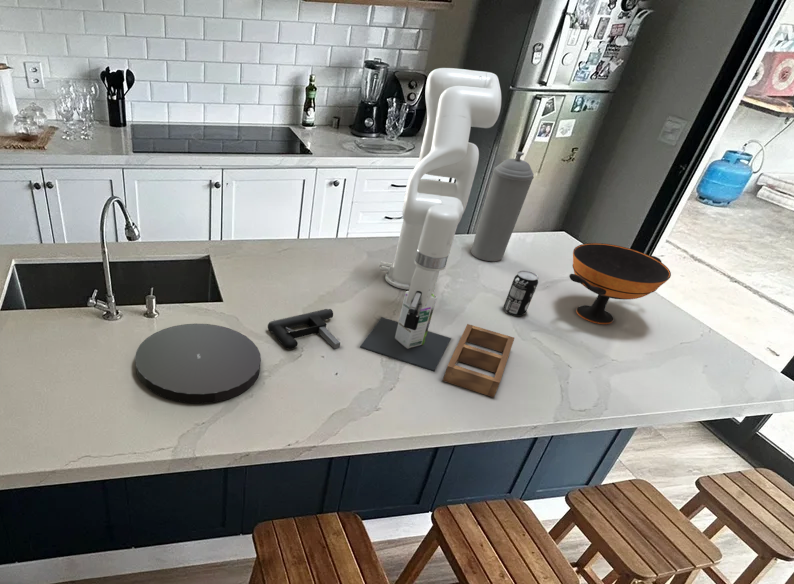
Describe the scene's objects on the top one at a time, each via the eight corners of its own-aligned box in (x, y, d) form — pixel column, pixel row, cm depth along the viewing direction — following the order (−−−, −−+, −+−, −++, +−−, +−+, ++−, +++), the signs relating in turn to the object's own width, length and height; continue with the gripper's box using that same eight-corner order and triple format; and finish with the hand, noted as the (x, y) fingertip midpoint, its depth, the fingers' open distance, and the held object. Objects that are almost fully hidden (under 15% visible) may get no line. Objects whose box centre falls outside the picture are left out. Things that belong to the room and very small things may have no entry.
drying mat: (359, 347, 151) (360, 346, 150) (381, 318, 163) (381, 316, 163) (434, 371, 144) (434, 370, 144) (450, 339, 157) (451, 338, 157)
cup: (591, 349, 157) (620, 292, 146) (520, 306, 174) (542, 252, 163) (669, 324, 172) (701, 271, 161) (596, 287, 189) (621, 236, 178)
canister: (510, 256, 203) (547, 154, 182) (494, 266, 196) (531, 160, 174) (477, 245, 210) (510, 144, 188) (461, 254, 202) (492, 150, 181)
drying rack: (442, 380, 141) (447, 365, 138) (462, 337, 158) (467, 323, 155) (493, 397, 137) (499, 382, 134) (509, 351, 154) (514, 337, 151)
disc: (123, 343, 145) (122, 333, 143) (233, 325, 155) (234, 315, 153) (154, 416, 124) (153, 405, 122) (279, 389, 134) (281, 379, 132)
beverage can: (522, 307, 174) (536, 271, 167) (527, 318, 169) (542, 281, 162) (500, 304, 174) (513, 268, 167) (505, 315, 169) (519, 279, 162)
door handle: (359, 335, 151) (326, 304, 161) (294, 351, 143) (264, 317, 153) (356, 345, 153) (324, 314, 163) (292, 362, 145) (263, 327, 155)
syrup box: (407, 349, 151) (420, 300, 141) (393, 338, 155) (405, 290, 145) (424, 345, 153) (438, 296, 144) (410, 333, 157) (423, 286, 148)
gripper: (425, 242, 146) (409, 303, 157) (406, 267, 134) (390, 331, 145) (454, 250, 144) (436, 311, 155) (437, 276, 131) (419, 340, 142)
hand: (414, 320), depth 150 cm, fingers closed on syrup box, 7 cm apart
